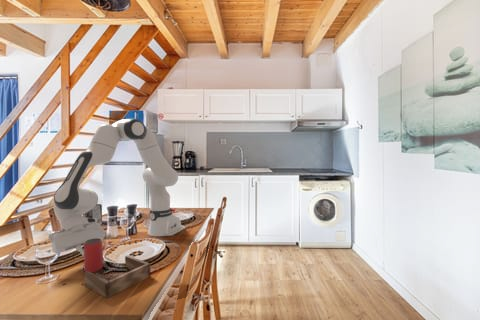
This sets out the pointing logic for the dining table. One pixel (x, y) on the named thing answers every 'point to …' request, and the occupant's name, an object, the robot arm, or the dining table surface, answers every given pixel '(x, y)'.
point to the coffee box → (95, 213)
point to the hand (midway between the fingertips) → (86, 253)
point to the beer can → (93, 255)
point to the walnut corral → (119, 278)
